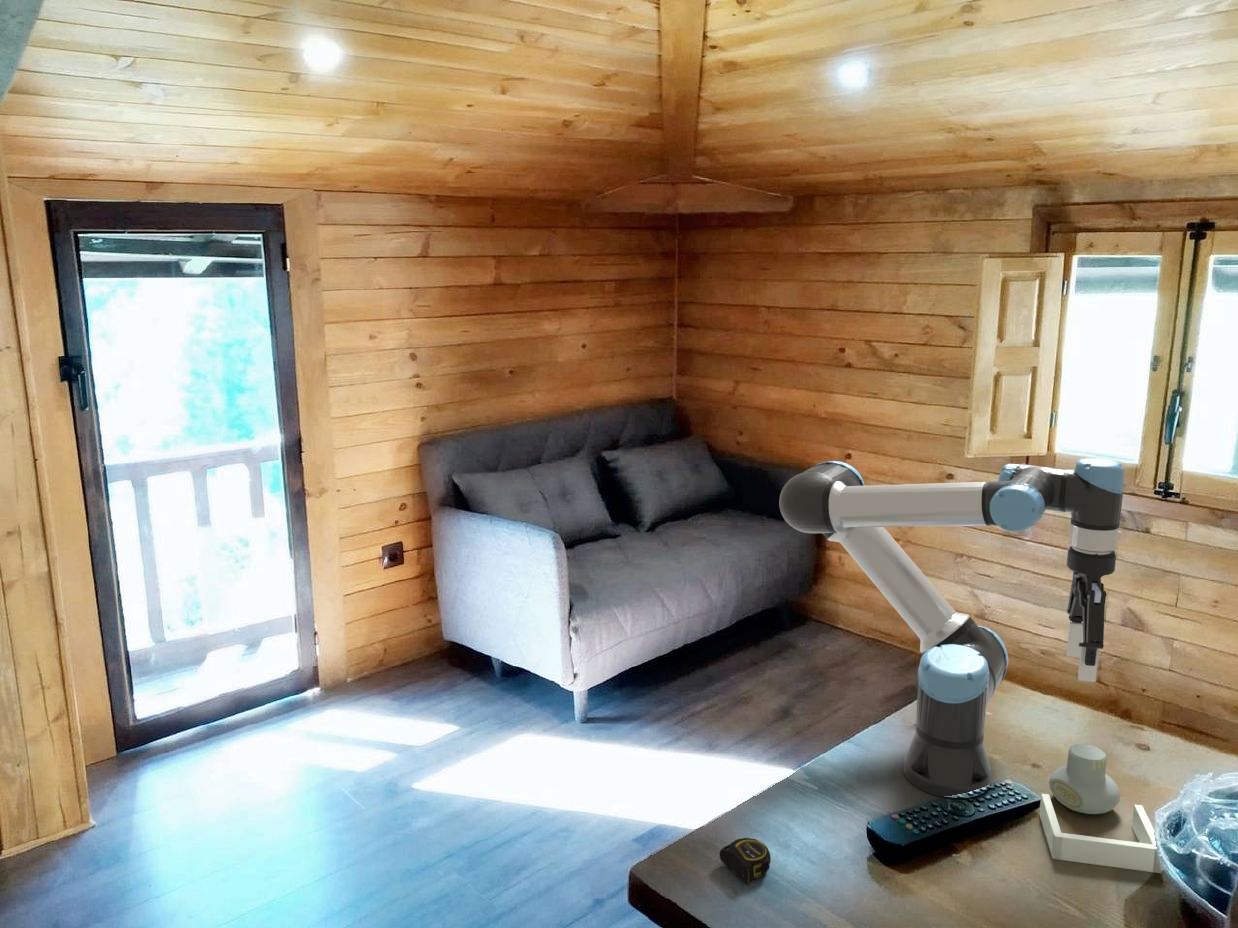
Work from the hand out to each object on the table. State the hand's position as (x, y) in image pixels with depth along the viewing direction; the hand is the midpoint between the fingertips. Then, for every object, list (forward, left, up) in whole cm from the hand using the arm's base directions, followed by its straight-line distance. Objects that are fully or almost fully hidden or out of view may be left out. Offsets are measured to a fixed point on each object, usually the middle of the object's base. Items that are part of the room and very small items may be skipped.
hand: (1080, 668), depth 167 cm
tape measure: (-54, -42, -21) cm, 72 cm away
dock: (0, -22, -21) cm, 30 cm away
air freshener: (0, -11, -21) cm, 23 cm away
